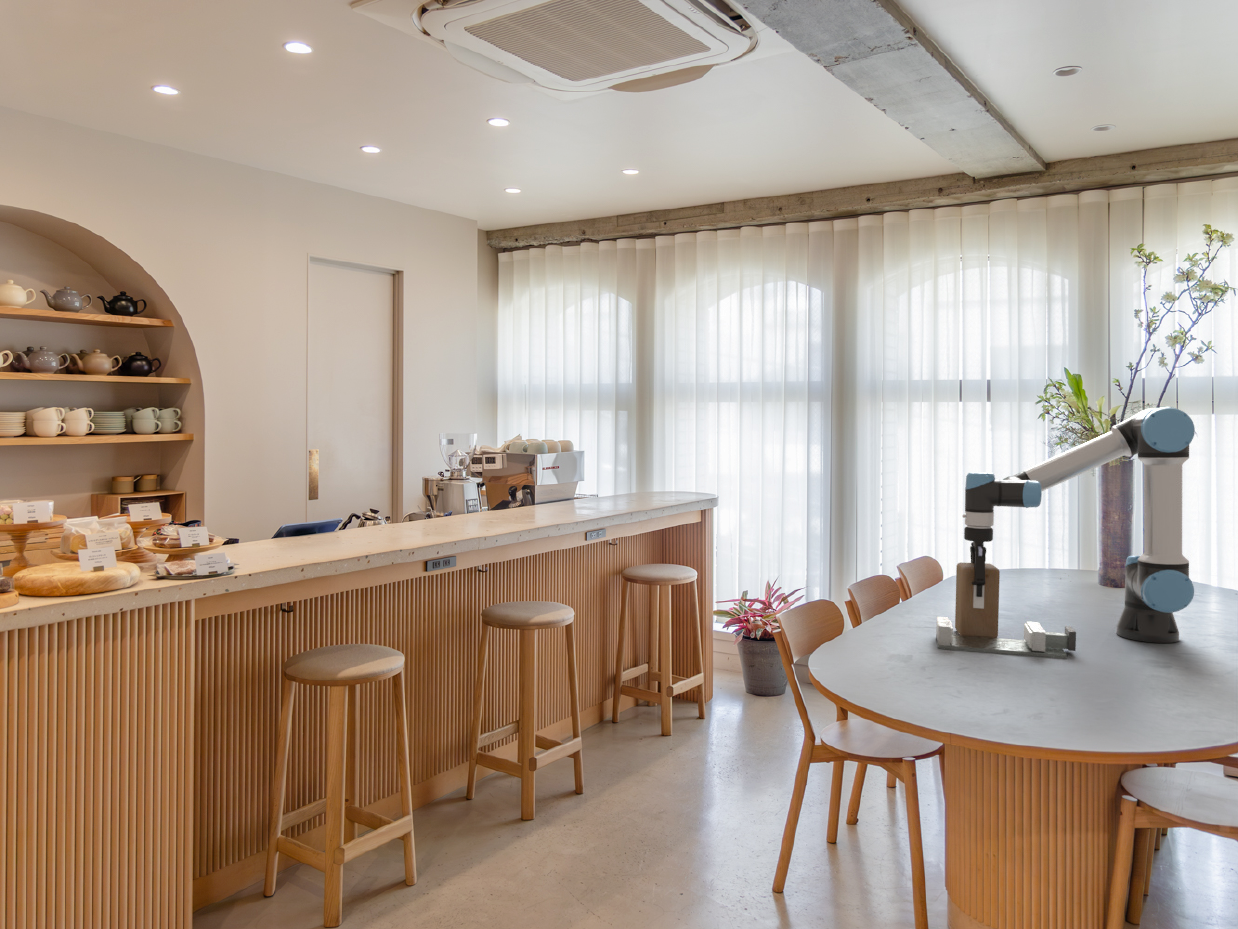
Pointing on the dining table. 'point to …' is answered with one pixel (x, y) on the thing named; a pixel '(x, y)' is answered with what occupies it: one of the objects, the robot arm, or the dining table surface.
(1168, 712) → the dining table surface
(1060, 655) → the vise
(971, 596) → the wooden block
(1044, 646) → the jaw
